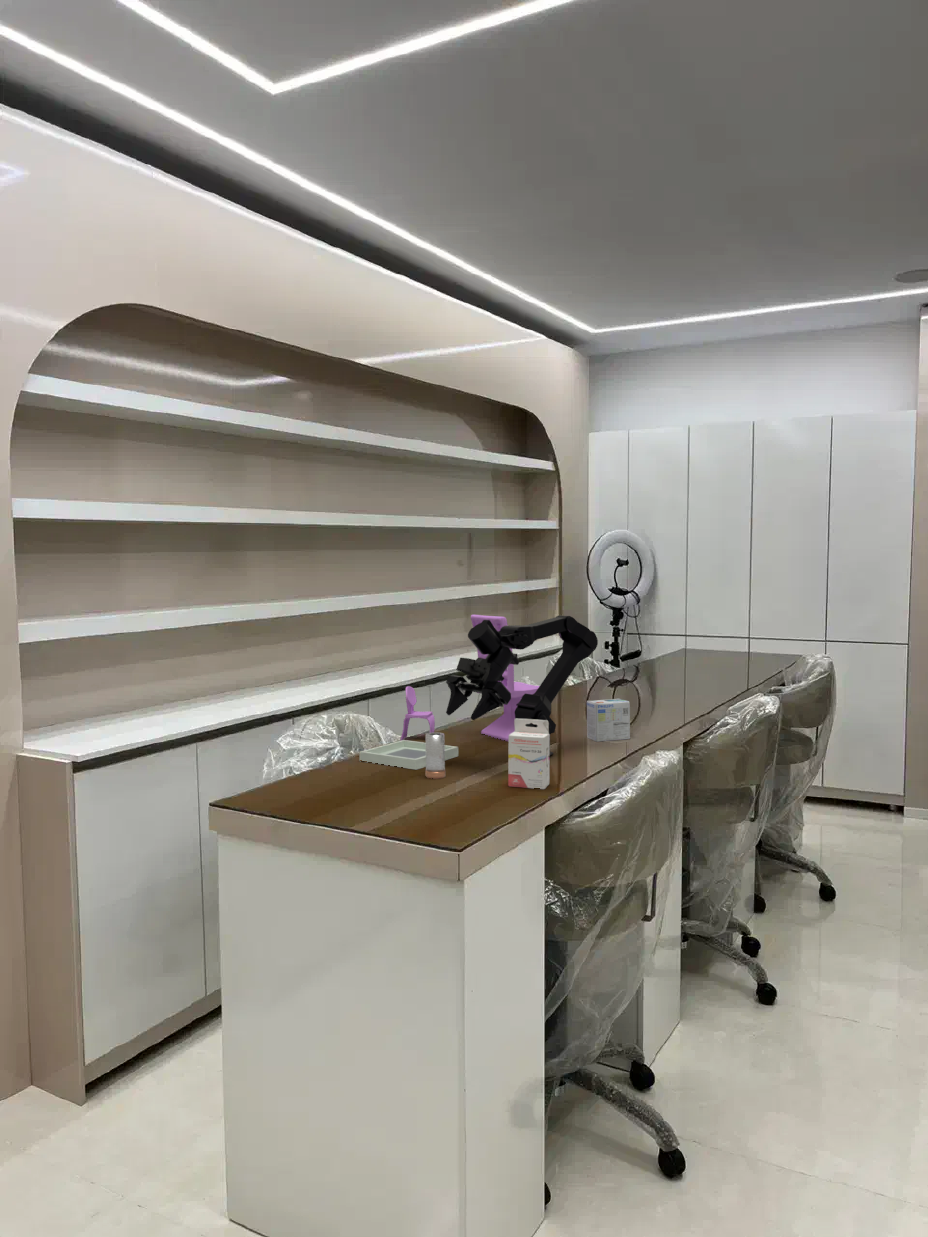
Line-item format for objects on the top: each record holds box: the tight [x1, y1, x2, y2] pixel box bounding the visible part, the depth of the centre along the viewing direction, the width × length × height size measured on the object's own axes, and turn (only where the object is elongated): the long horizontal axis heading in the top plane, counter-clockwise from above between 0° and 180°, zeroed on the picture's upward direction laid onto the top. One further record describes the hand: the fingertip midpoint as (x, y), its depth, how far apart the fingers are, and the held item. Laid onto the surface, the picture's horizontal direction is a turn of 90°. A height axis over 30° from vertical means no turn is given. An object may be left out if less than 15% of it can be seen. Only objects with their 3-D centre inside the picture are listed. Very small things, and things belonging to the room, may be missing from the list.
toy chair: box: [399, 685, 436, 741], centre depth 257 cm, size 8×9×15 cm
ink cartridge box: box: [507, 718, 551, 790], centre depth 202 cm, size 9×5×15 cm, turn 71°
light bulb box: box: [586, 698, 631, 743], centre depth 254 cm, size 11×7×11 cm, turn 108°
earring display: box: [470, 614, 540, 743], centre depth 259 cm, size 15×17×35 cm
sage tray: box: [358, 739, 459, 771], centre depth 231 cm, size 18×18×2 cm
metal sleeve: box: [424, 731, 446, 780], centre depth 212 cm, size 5×5×10 cm
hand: (459, 716), depth 216 cm, fingers open, 9 cm apart
